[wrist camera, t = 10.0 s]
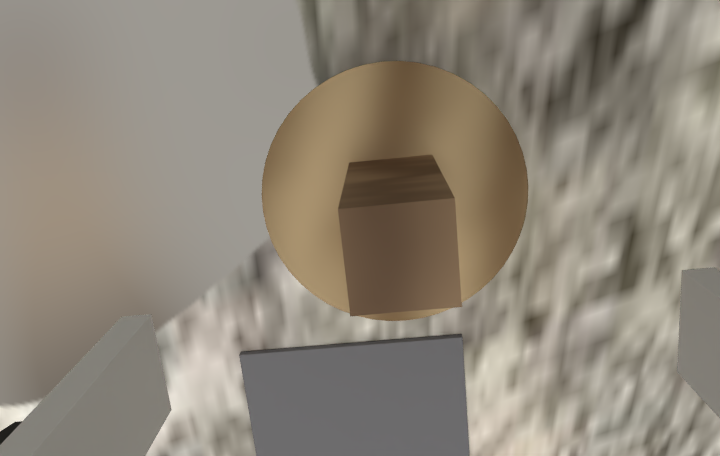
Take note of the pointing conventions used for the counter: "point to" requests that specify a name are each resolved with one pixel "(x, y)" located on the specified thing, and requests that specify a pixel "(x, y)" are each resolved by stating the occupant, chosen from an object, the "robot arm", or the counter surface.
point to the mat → (359, 398)
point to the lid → (395, 191)
